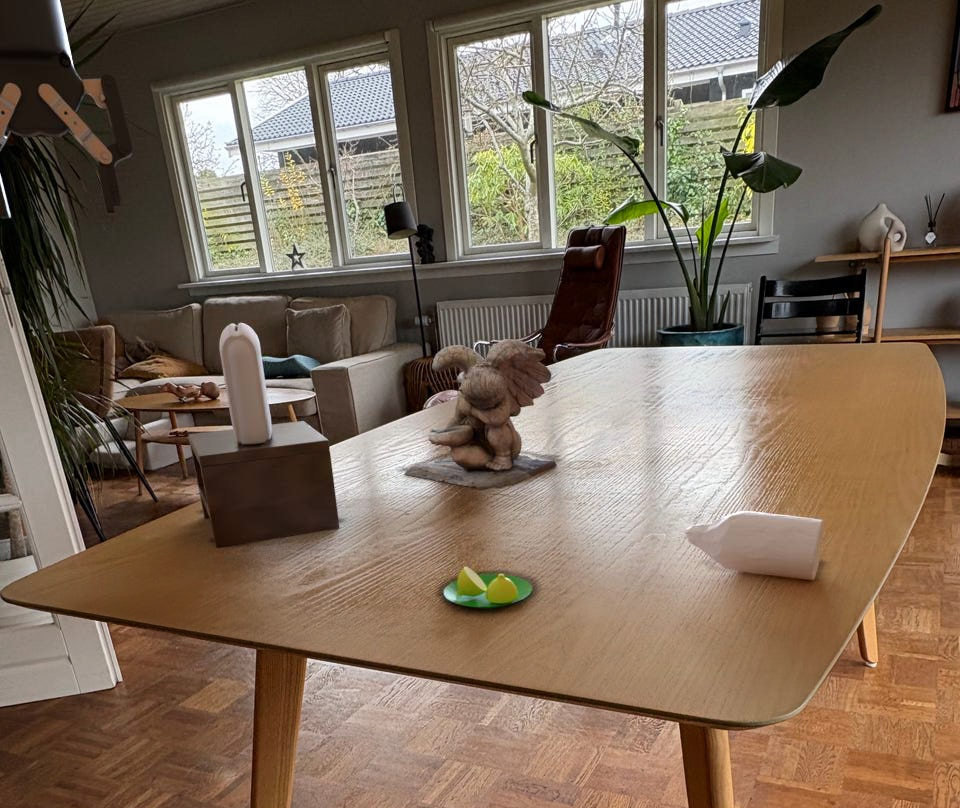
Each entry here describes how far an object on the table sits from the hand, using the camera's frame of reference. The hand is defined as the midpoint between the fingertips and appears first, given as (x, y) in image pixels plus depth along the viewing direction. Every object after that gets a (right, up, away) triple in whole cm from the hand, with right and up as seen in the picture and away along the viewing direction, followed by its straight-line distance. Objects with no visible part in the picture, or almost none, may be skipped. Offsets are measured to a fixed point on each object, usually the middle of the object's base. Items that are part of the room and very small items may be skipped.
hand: (59, 216), depth 74 cm
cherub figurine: (+37, -13, +46) cm, 61 cm away
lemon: (+38, -34, +2) cm, 51 cm away
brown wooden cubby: (+12, -23, +27) cm, 38 cm away
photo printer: (+11, -14, +23) cm, 29 cm away
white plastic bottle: (+62, -31, +5) cm, 70 cm away
